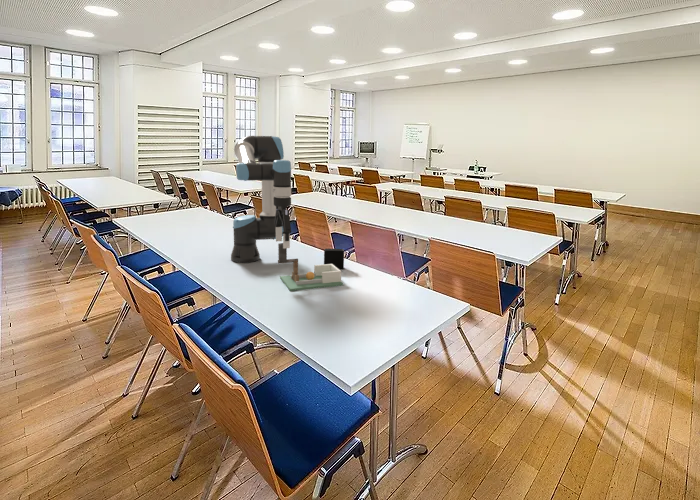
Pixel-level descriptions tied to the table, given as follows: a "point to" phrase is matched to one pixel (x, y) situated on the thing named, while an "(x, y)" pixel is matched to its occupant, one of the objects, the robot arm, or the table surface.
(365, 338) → the table surface
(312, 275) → the ball
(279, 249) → the striker
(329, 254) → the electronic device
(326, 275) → the pitch
